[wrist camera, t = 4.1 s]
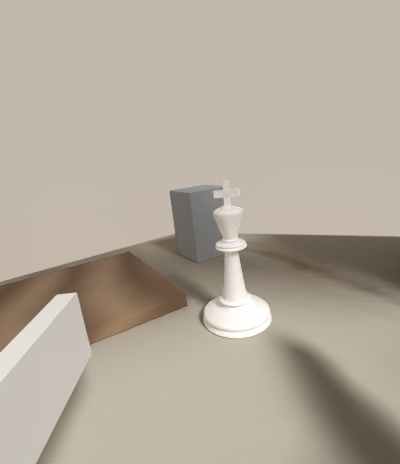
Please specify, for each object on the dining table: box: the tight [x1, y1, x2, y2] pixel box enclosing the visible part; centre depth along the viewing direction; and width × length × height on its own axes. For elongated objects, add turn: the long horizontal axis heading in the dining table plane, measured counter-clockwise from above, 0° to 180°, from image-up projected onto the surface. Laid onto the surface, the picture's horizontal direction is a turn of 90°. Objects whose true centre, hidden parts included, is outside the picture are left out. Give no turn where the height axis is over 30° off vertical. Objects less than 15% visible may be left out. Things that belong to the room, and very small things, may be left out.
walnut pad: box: [0, 252, 187, 352], centre depth 26 cm, size 15×15×1 cm
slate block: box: [170, 185, 225, 263], centre depth 34 cm, size 5×5×8 cm
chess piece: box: [203, 180, 271, 338], centre depth 19 cm, size 5×5×10 cm
